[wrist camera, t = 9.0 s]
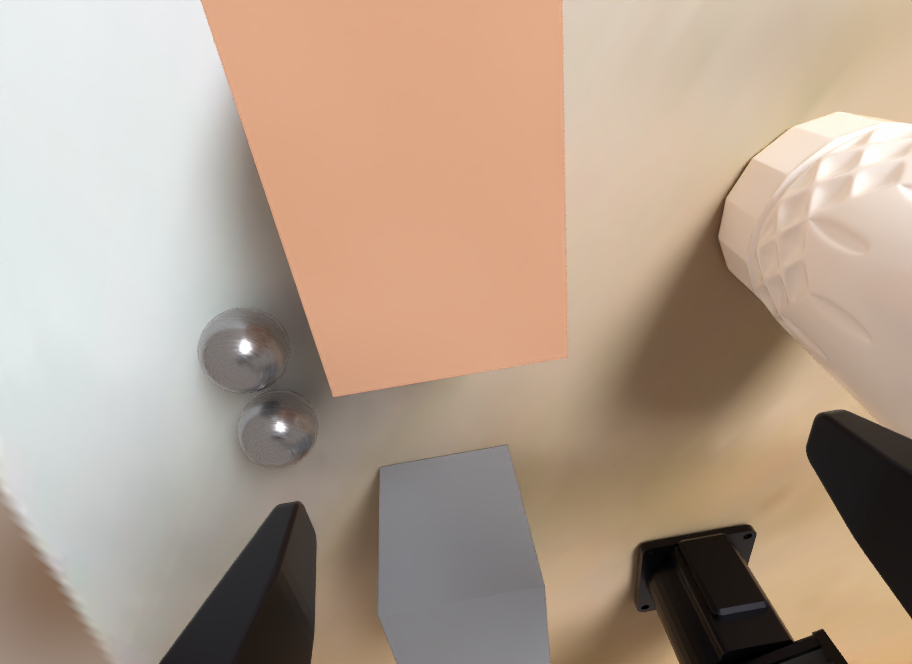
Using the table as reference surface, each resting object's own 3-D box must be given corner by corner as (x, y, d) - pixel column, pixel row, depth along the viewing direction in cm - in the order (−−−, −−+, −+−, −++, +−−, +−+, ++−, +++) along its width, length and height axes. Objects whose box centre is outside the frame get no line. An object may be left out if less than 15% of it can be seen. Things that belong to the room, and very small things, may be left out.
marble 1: (304, 352, 21) (293, 402, 19) (228, 365, 21) (207, 418, 18) (281, 285, 19) (265, 331, 17) (198, 299, 19) (170, 347, 17)
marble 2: (330, 423, 23) (323, 477, 21) (261, 435, 23) (245, 491, 21) (310, 369, 21) (300, 419, 19) (236, 381, 21) (215, 434, 19)
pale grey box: (520, 559, 30) (552, 698, 24) (413, 578, 30) (420, 723, 24) (507, 444, 25) (544, 585, 19) (379, 467, 25) (377, 615, 19)
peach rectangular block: (513, 244, 19) (568, 357, 14) (349, 272, 19) (333, 397, 14) (490, -60, 14) (560, -89, 9) (269, -27, 14) (190, -32, 9)
